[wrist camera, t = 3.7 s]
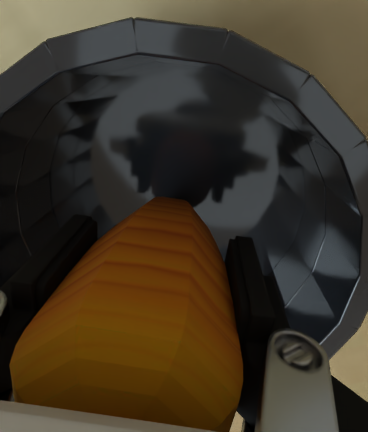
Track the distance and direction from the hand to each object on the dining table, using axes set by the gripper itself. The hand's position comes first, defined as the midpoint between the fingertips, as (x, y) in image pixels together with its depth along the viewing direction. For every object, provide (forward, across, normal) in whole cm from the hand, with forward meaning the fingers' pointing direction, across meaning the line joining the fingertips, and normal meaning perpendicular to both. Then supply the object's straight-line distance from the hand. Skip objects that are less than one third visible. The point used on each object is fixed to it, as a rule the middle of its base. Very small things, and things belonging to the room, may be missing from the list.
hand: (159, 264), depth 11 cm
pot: (+6, 0, 0) cm, 6 cm away
